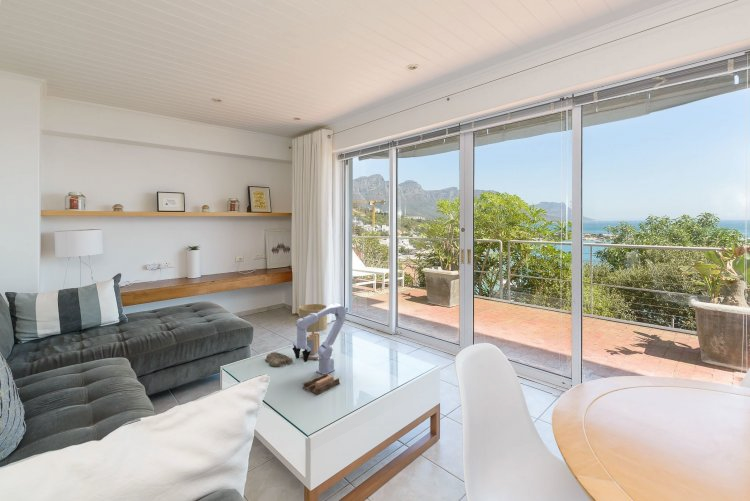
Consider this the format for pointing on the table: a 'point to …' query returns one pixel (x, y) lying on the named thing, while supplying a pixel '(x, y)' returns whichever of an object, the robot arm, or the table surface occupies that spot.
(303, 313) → the desk lamp
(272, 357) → the brown rock
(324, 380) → the light brown long block
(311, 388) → the walnut rack
